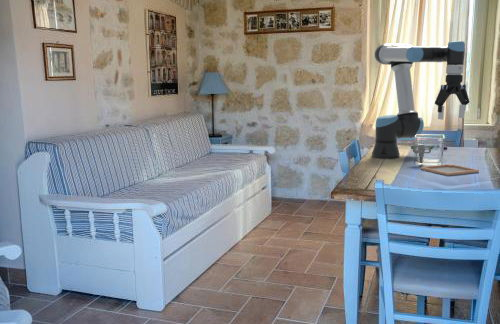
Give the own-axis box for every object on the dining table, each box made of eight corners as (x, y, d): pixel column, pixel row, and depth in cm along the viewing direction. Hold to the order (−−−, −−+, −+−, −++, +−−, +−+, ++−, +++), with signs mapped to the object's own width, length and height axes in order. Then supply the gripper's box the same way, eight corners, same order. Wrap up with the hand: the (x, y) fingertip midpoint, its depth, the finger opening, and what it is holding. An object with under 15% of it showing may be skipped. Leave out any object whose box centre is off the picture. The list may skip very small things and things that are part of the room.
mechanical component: (431, 165, 243) (432, 146, 241) (410, 165, 245) (411, 145, 243) (430, 164, 246) (431, 145, 244) (410, 164, 248) (410, 145, 246)
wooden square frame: (420, 169, 233) (420, 167, 232) (449, 166, 240) (450, 164, 239) (448, 175, 217) (448, 173, 216) (478, 172, 224) (478, 169, 223)
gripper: (440, 74, 221) (437, 120, 225) (479, 74, 231) (476, 118, 235) (428, 74, 228) (425, 119, 232) (467, 74, 238) (463, 116, 242)
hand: (451, 118), depth 234 cm, fingers open, 13 cm apart
